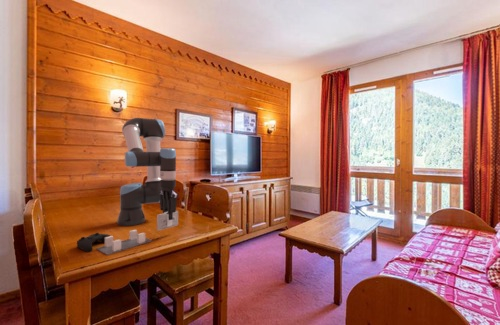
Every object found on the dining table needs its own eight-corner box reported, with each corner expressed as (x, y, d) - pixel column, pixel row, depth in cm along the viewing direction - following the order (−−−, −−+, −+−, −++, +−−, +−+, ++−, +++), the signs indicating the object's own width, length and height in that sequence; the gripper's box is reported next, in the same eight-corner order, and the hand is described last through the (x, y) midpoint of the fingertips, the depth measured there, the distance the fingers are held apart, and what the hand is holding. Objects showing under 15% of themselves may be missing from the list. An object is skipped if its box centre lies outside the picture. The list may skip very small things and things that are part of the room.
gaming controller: (90, 243, 101) (71, 236, 104) (88, 256, 102) (69, 250, 104) (115, 232, 115) (98, 226, 117) (114, 244, 116) (96, 238, 118)
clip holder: (96, 249, 105) (96, 239, 105) (140, 236, 121) (140, 227, 121) (107, 255, 99) (106, 244, 99) (151, 241, 116) (151, 231, 115)
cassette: (176, 224, 128) (176, 210, 128) (178, 225, 127) (178, 210, 127) (156, 230, 119) (156, 214, 118) (158, 231, 118) (158, 215, 117)
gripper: (152, 178, 123) (152, 224, 124) (170, 181, 114) (170, 230, 116) (165, 177, 129) (165, 220, 130) (183, 179, 120) (183, 226, 122)
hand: (167, 225), depth 123 cm, fingers closed on cassette, 2 cm apart
